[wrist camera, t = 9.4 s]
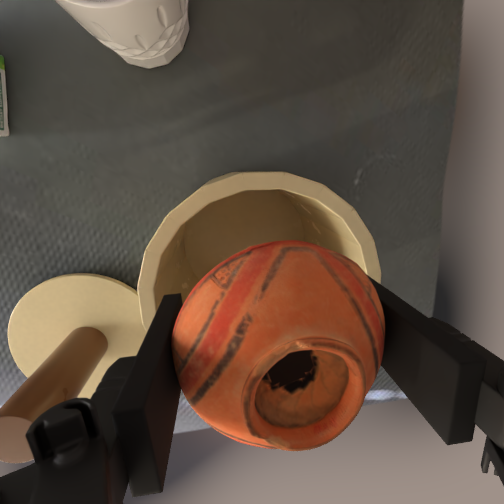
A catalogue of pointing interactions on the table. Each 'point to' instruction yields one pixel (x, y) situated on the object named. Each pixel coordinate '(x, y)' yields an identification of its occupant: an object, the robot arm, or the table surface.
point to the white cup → (135, 27)
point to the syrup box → (3, 101)
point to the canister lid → (65, 347)
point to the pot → (280, 345)
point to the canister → (246, 230)
